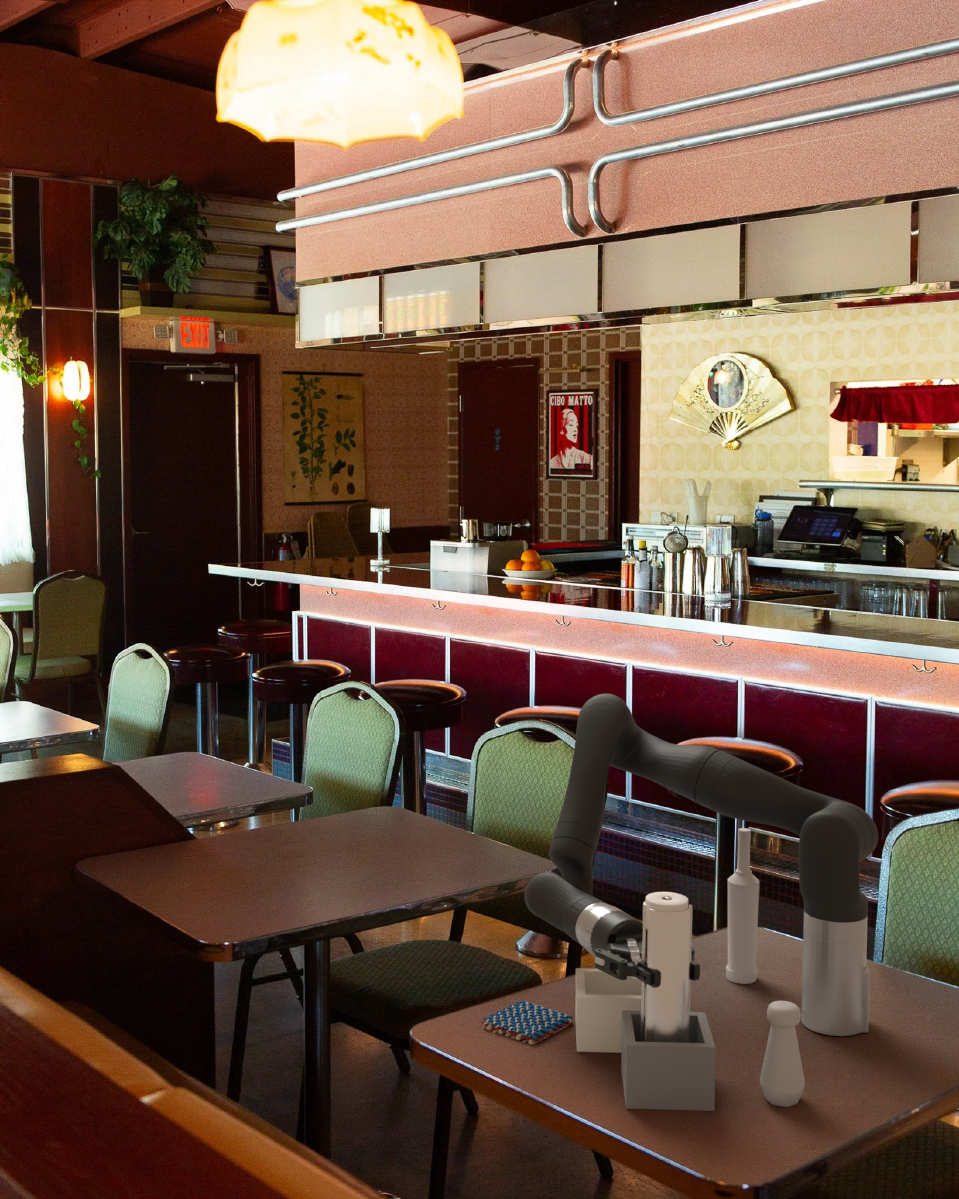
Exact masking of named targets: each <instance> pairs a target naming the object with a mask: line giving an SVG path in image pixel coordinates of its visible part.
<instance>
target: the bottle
mask: <svg viewBox="0 0 959 1199" xmlns="http://www.w3.org/2000/svg"><path fill="white" fill-rule="evenodd" d="M751 832H752V831H751V829H750V828H746V827H741V828H738V829H737V841H738V842H737V868H736V869H735V872H734V873H733V874H732V875H730V876H729V877H728V878H727V965H726V966H725V975H726V979H727V980H728V981H729V982H732V983H735V984H738V983H739V984H740V985H749V984H753V982H754V983H755V982H756V981H757V979H758V967H757V949H758V948H757V946H758V945H757V944H758V924H759V923H758V922H759V904H760V903H759V901H760V900H759V897H760V879H758V878H757V877H756V876H755V875H754V874H753V873H752V872H753V871H752V870H751V842H752V841H751V836H752V835H751Z"/></svg>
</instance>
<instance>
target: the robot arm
mask: <svg viewBox="0 0 959 1199" xmlns="http://www.w3.org/2000/svg"><path fill="white" fill-rule="evenodd" d="M576 723H577V725H576V732H575V738H574V740H575V742H574V749H573V754H572V755H573V756H572V761H571V762H572V763H571V766H570V773H569V777H568V782H567V787H566V792H565V796H564V800H563V804H562V806H561V810H560V814H559V817H558V820H557V824H556V827H555V830H554V834H553V837H552V841H551V843H550V847H549V851H548V854H549V855H548V856H549V860H550V861H551V862H552V864H553V865H554V866H555V867H556V868H557V870H558V871H559V872H560V873H561V875H559V874H558V873H555V872H553V871H542V872H539V873H538V874H535V875H534V876H532V877H531V879H530V880H528V882H527V885H526V887H525V890H524V901H525V902H524V903H525V905H526V907H527V909H528V910H529V911H530V912H531V913H532V914H533V915H534V916H536V917H538V918H539V919H541V920H542V921H544V922H546V923H548V924H549V925H551V926H553V927H555V928H556V929H558V930H559V931H561V932H563V933H564V934H566V935H567V936H568V937H570V939H572V941H575V942H576V943H578V944H579V945H580V946H582V948H584V949H585V950H586V951H587V952H588V953H589V954H591V955H592V956H594V969H599V970H601V971H603V972H605V973H607V974H609V975H611V976H613V977H615V978H617V979H619V980H626V979H627V976H632V979H635V980H641V981H642V982H644V983H646V984H648V985H650V986H651V987H653V988H656V987H659V986H660V973H659V971H658V970H654V969H651V968H648V964H647V963H642V930H643V921H640V920H638V919H637V918H635V917H633V916H631V915H630V914H628V913H627V912H625V911H623V910H622V909H620V908H618V907H616V906H613V905H612V904H611V905H610V904H608V903H606V902H604V901H603V900H601V899H599V898H598V897H595V896H593V893H594V892H593V887H594V886H593V885H594V884H593V883H594V882H593V881H594V880H593V874H594V872H593V866H594V864H593V863H594V862H593V861H594V858H595V854H596V851H597V848H598V845H599V840H600V836H601V832H602V828H603V822H604V821H603V820H604V814H605V802H606V801H605V799H606V786H607V779H608V778H607V777H608V772H609V768H610V767H612V768H616V769H618V770H620V771H621V770H622V771H624V772H627V773H630V774H634V775H637V776H639V777H642V778H644V779H647V780H649V781H652V782H654V783H656V784H658V785H659V786H662V787H664V788H666V789H667V790H669V791H672V792H674V793H676V794H678V795H680V796H683V797H685V798H687V799H688V800H690V801H692V802H694V803H696V804H697V805H700V806H702V807H704V808H707V809H709V810H710V811H713V812H715V813H717V814H720V815H723V816H725V817H728V818H732V819H736V820H740V821H745V822H750V823H756V824H763V825H767V826H772V827H773V826H774V827H777V828H780V829H783V830H785V831H788V832H791V833H794V834H795V835H797V836H799V838H798V839H799V840H798V873H799V874H798V876H799V877H798V878H799V879H798V880H799V883H798V884H799V890H800V894H801V897H802V899H803V935H802V936H803V937H802V938H803V939H802V940H803V942H802V972H801V974H802V975H801V977H802V978H801V980H802V981H801V1005H800V1006H801V1008H800V1012H801V1018H800V1021H801V1024H802V1025H803V1026H804V1027H806V1028H807V1029H808V1030H810V1031H812V1032H815V1033H818V1034H822V1035H827V1036H832V1037H833V1036H836V1037H838V1036H839V1037H846V1036H847V1037H849V1036H854V1035H857V1034H862V1033H869V1026H870V1025H869V1024H870V1023H869V1020H870V991H871V990H870V987H871V985H870V983H871V982H870V981H871V969H870V968H869V967H868V965H867V949H868V948H867V947H868V946H867V944H868V942H867V941H868V914H869V913H868V912H869V901H868V898H867V896H866V895H865V893H863V892H862V891H861V889H860V888H861V887H860V884H861V883H860V863H861V862H863V861H864V860H865V859H867V858H868V857H870V855H871V854H872V853H873V852H874V851H875V849H876V848H877V845H878V842H879V831H878V827H877V825H876V823H875V821H874V819H872V816H870V815H869V814H868V812H867V811H865V810H864V809H862V807H860V806H858V805H856V804H853V803H851V802H848V801H845V800H842V799H838V798H835V797H832V796H829V795H825V794H823V793H819V792H816V791H813V790H810V789H806V788H805V787H803V786H802V787H801V786H799V785H797V784H794V783H792V782H790V781H788V780H786V779H784V778H783V777H780V776H778V775H775V774H773V773H772V772H769V771H768V770H764V769H762V768H760V767H758V766H755V765H754V764H751V763H749V762H747V761H746V760H745V761H744V759H741V758H738V757H737V756H735V755H732V754H729V753H727V752H726V751H722V750H720V749H719V748H718V749H717V748H716V747H712V746H709V745H703V744H702V745H701V744H676V743H671V742H668V741H666V740H663V739H661V738H659V737H658V736H655V735H653V734H650V733H649V732H647V731H646V730H644V729H642V728H640V726H639V725H637V723H636V721H635V718H634V716H633V714H632V712H631V709H630V708H629V706H628V705H627V702H625V701H624V700H623V699H622V698H620V697H619V696H617V695H615V694H612V693H601V694H597V695H594V696H592V697H591V698H589V699H588V700H587V701H586V702H585V703H584V704H583V705H582V707H581V708H580V711H579V713H578V716H577V722H576ZM695 953H696V949H695V948H694V947H691V981H692V982H693V981H699V980H700V977H701V976H700V975H701V965H700V964H699V963H698V962H697V961H695Z"/></svg>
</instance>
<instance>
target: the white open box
mask: <svg viewBox="0 0 959 1199" xmlns="http://www.w3.org/2000/svg"><path fill="white" fill-rule="evenodd" d="M622 1010H626V1011H641V980H635V979H632V976H627V979H626V980H619V979H617V978H615V977H613V976H611V975H609V974H607V973H605V972H603V971H601V970H599V969H596V968H588V967H587V968H583V967H577V968H575V1010H574V1011H575V1014H574V1016H575V1019H574V1020H575V1037H576V1038H575V1039H576V1041H575V1042H576V1052H577V1053H581V1052H584V1053H620V1054H621V1040H622Z"/></svg>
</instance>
